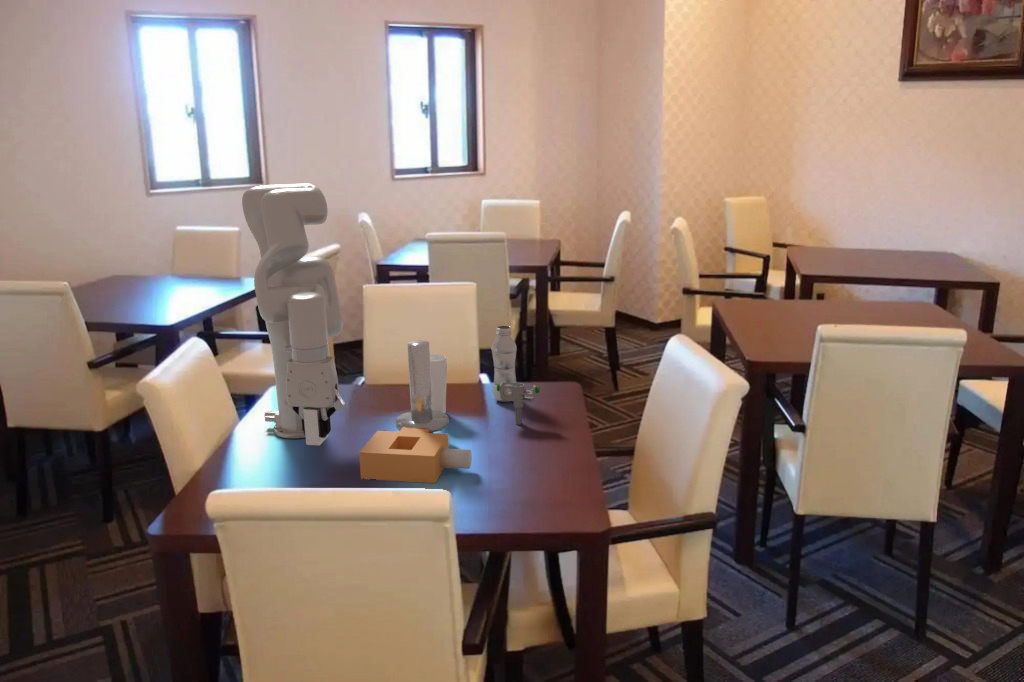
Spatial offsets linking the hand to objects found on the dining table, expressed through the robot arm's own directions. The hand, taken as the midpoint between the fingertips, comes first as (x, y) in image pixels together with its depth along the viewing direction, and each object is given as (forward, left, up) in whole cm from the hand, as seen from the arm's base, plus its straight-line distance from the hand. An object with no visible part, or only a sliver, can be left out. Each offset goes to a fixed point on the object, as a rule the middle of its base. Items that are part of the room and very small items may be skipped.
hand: (317, 434), depth 171 cm
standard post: (+18, +16, -8) cm, 26 cm away
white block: (0, 0, -1) cm, 1 cm away
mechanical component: (+38, +31, -8) cm, 50 cm away
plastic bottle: (+32, +47, -8) cm, 58 cm away
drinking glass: (+16, +35, -8) cm, 40 cm away
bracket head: (+21, +4, -8) cm, 23 cm away
